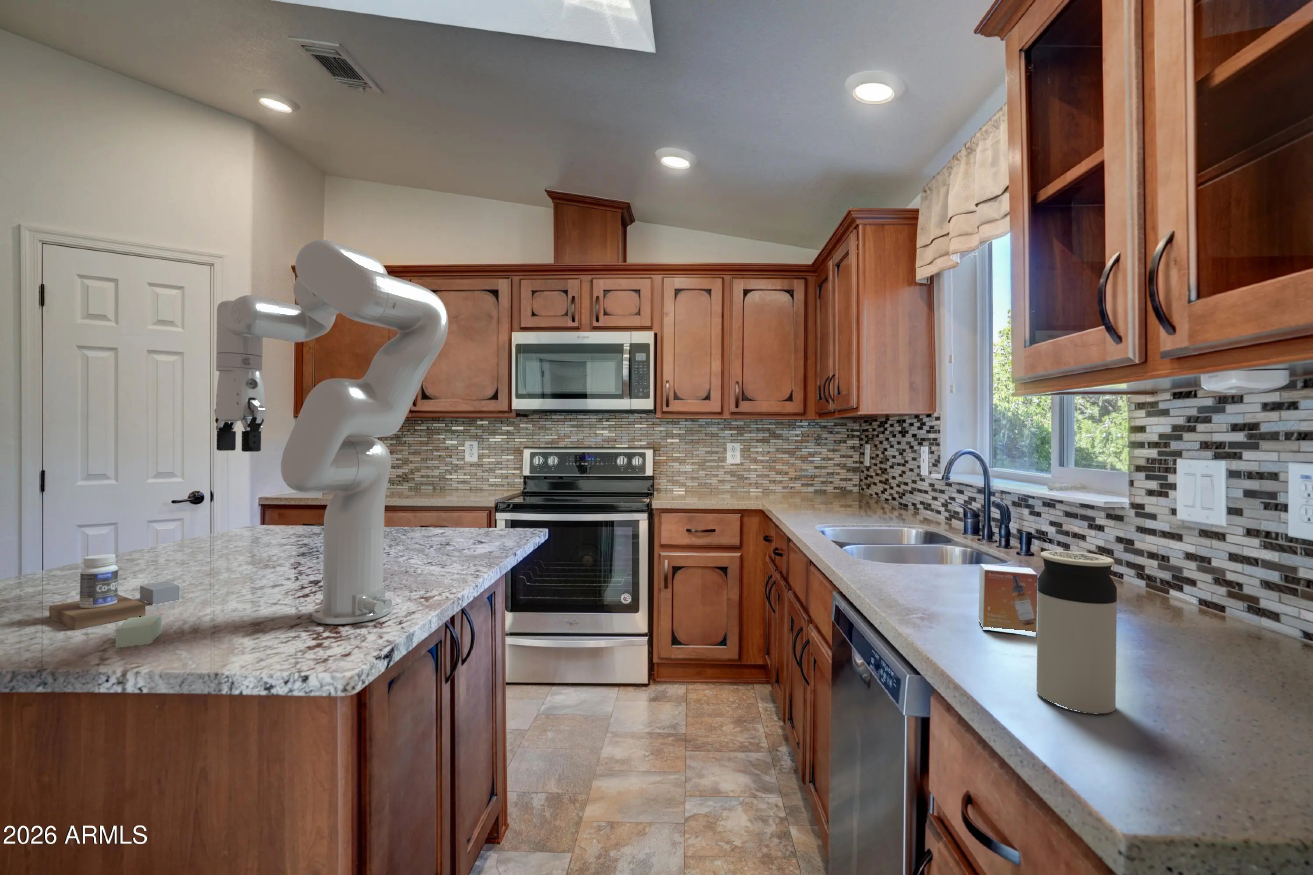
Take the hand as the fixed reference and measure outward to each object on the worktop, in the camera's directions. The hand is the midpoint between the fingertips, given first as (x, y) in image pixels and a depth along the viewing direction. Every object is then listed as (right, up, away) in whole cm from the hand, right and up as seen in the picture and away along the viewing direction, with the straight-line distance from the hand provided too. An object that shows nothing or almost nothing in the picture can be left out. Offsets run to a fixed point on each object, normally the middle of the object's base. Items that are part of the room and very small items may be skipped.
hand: (238, 451), depth 117 cm
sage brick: (+4, -29, -27) cm, 39 cm away
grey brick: (-11, -28, -5) cm, 31 cm away
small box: (+143, -30, -16) cm, 147 cm away
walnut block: (-13, -28, -16) cm, 35 cm away
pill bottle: (-13, -26, -16) cm, 33 cm away
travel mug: (+135, -30, -44) cm, 145 cm away
